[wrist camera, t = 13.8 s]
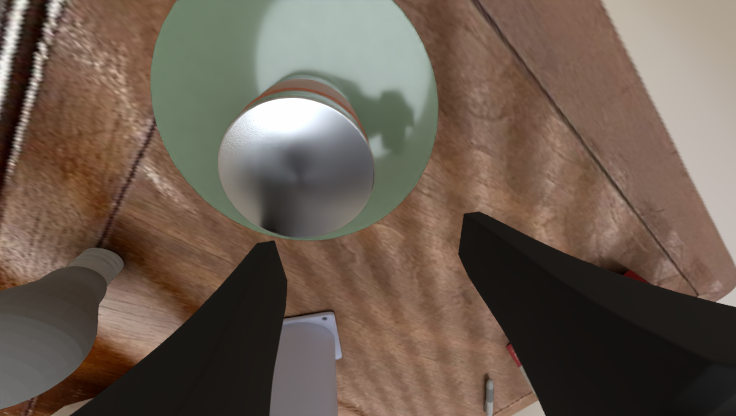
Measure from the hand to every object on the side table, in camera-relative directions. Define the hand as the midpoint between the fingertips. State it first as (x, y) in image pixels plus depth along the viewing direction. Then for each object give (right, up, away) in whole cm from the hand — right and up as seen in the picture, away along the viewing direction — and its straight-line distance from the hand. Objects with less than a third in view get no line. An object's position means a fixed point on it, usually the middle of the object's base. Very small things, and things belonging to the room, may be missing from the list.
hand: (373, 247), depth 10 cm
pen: (+19, -28, +33) cm, 47 cm away
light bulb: (-20, -2, +10) cm, 23 cm away
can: (-3, +5, +3) cm, 7 cm away
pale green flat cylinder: (-4, +8, +7) cm, 11 cm away
